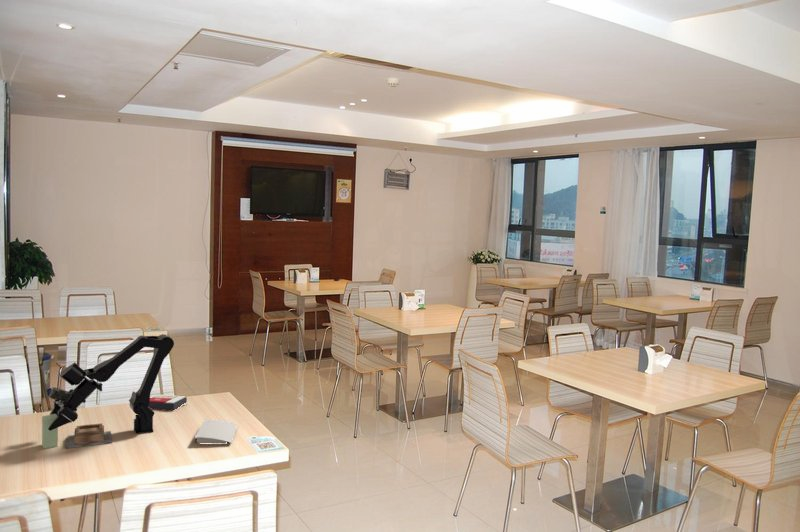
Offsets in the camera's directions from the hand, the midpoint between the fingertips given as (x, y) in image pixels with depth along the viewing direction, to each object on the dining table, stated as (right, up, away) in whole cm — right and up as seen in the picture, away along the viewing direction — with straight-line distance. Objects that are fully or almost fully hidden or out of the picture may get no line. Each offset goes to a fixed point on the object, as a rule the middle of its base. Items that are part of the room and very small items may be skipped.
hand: (47, 426), depth 224 cm
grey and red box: (+23, -5, +52) cm, 57 cm away
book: (+57, -9, +17) cm, 60 cm away
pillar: (0, -7, +1) cm, 8 cm away
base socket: (+11, -7, +8) cm, 16 cm away
